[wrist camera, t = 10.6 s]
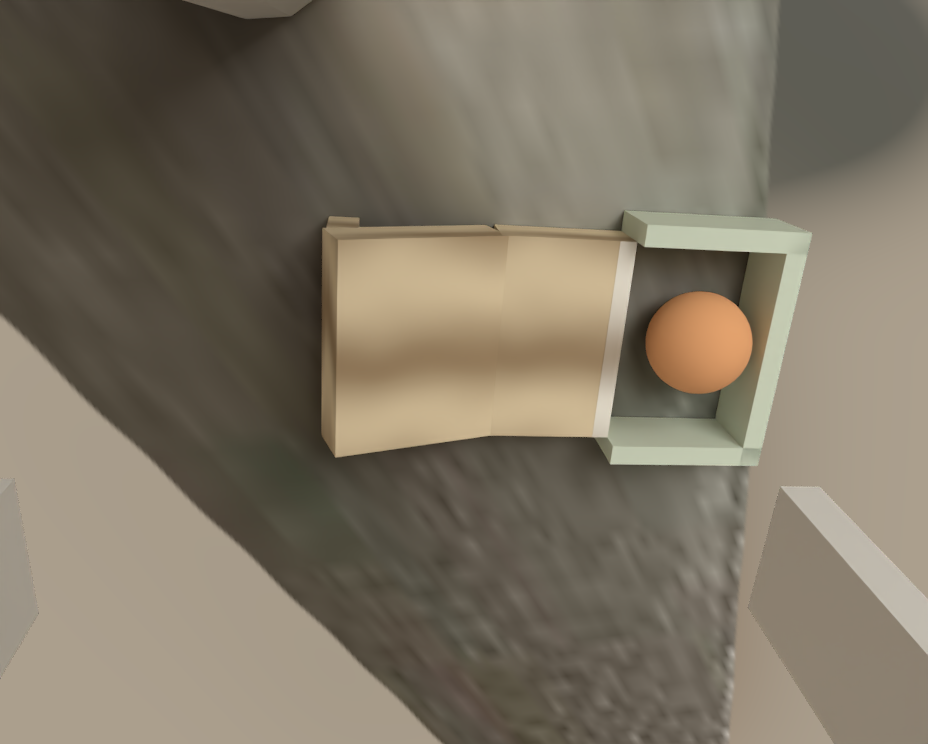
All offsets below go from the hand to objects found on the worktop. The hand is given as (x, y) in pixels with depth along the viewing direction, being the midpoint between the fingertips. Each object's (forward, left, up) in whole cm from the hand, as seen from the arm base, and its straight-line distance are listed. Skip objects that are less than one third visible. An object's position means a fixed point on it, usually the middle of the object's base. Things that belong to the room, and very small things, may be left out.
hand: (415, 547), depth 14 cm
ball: (+4, +13, -25) cm, 28 cm away
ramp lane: (+4, +4, -25) cm, 26 cm away
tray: (+4, +15, -25) cm, 30 cm away
